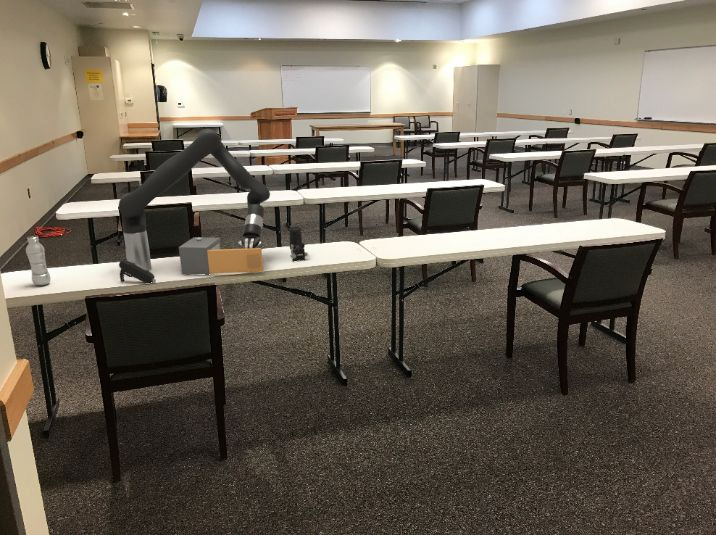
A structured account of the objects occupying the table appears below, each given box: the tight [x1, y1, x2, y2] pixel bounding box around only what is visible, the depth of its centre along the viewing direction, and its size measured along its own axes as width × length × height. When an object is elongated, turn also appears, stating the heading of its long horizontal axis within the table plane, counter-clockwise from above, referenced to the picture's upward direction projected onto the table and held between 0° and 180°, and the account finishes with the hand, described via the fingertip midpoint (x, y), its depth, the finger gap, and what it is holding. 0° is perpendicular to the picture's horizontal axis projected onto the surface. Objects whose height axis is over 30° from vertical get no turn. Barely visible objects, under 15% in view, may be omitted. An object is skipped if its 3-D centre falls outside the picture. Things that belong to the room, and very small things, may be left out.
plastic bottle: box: [25, 235, 51, 286], centre depth 223 cm, size 6×7×20 cm
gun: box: [118, 259, 157, 284], centre depth 226 cm, size 3×16×10 cm, turn 79°
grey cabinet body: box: [178, 236, 222, 276], centre depth 240 cm, size 14×16×13 cm
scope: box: [288, 226, 309, 263], centre depth 253 cm, size 8×14×10 cm
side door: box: [207, 248, 264, 275], centre depth 232 cm, size 2×22×10 cm, turn 94°
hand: (247, 262), depth 234 cm, fingers closed
